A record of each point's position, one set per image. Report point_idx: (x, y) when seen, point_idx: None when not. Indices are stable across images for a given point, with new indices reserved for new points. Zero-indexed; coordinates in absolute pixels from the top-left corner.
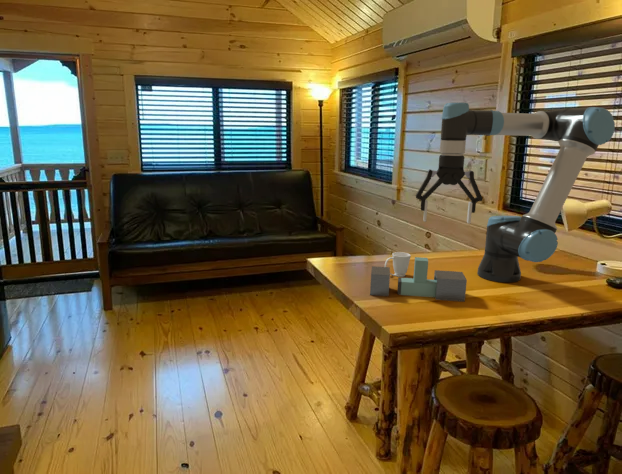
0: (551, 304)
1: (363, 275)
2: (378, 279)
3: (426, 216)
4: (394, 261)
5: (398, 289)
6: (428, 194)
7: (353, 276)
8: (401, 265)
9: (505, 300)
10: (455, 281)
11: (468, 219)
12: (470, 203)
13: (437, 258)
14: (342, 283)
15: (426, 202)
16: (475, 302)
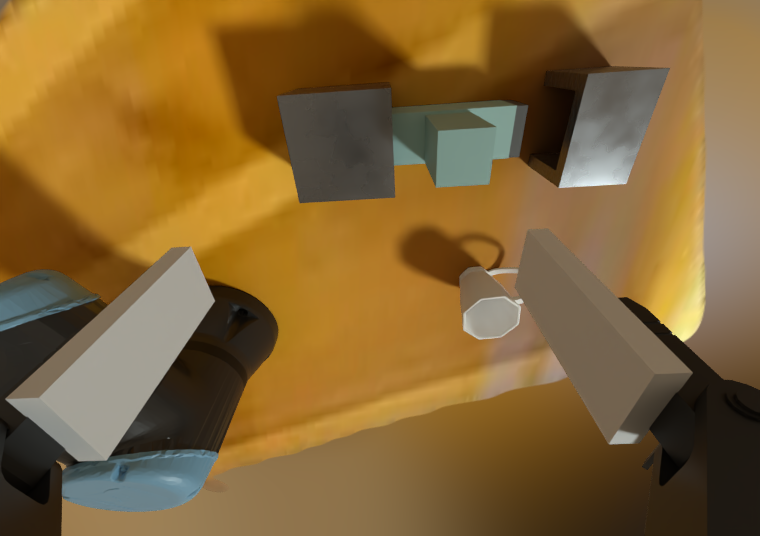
0: (51, 141)
1: (580, 252)
2: (622, 69)
3: (549, 251)
4: (507, 293)
5: (515, 102)
6: (758, 507)
7: (614, 237)
8: (484, 282)
9: (180, 140)
10: (320, 92)
11: (171, 264)
12: (34, 392)
13: (370, 400)
14: (672, 165)
15: (659, 362)
16: (263, 92)
